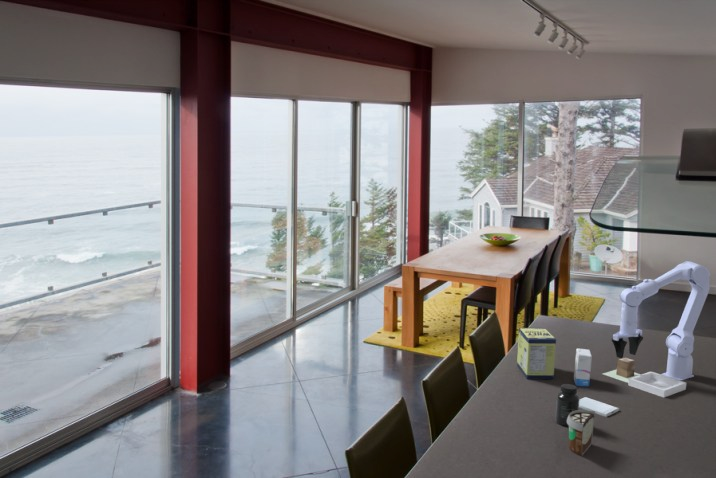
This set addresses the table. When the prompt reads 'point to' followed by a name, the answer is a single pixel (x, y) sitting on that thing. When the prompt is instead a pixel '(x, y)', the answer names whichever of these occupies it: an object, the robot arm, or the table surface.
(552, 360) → the protein box
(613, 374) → the sage pad
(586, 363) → the ink box
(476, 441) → the table surface
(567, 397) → the supplement bottle
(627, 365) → the walnut block
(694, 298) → the robot arm
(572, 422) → the food container
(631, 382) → the grey bin
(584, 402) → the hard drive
